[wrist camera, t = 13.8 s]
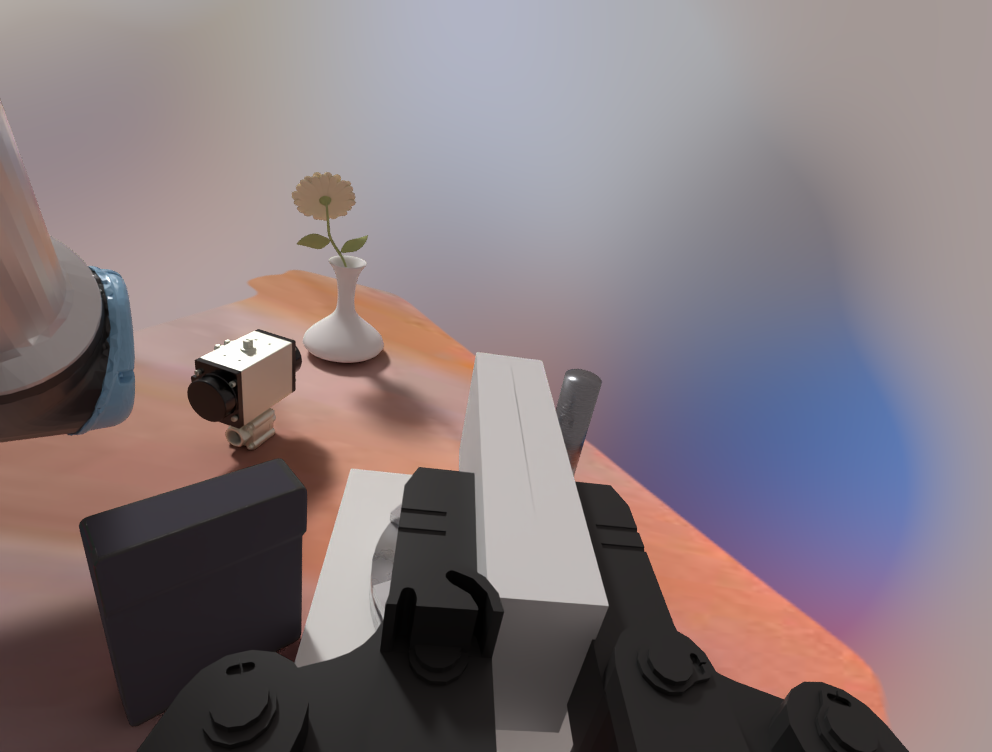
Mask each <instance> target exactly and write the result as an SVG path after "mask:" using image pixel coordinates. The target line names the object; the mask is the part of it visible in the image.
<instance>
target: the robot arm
mask: <svg viewBox="0 0 992 752" xmlns="http://www.w3.org/2000/svg"><path fill="white" fill-rule="evenodd" d="M134 360H135V354H134V338H133V326H132V317H131V310H130V302H129V296H128V291H127V287H126V285H125V283H124V280H123V279H122V277H121V275H120V274H118V273H117V272H115V271H113V270H108V269H100V268H98V267H94V266H87V265H86V263H85V262H84V261H83V260H82V259H81V258H80V257H79V256H78V255H77V254H76V253H75V252H74V251H73V250H71V249H70V248H69V247H67V246H66V245H65V244H63V243H62V242H60V241H58V240H57V239H55V238H53V237H52V236H50V235H49V233H48V231H47V228H46V225H45V222H44V219H43V217H42V214H41V211H40V208H39V205H38V203H37V200H36V197H35V194H34V191H33V189H32V186H31V183H30V180H29V177H28V175H27V172H26V169H25V166H24V164H23V161H22V158H21V156H20V152H19V150H18V147H17V144H16V141H15V139H14V136H13V133H12V130H11V127H10V125H9V122H8V119H7V117H6V113H5V111H4V108H3V105H2V102H1V100H0V442H8V441H15V440H23V439H31V438H38V437H46V436H54V435H61V434H68V435H71V436H72V435H80V434H84V433H86V432H88V431H89V430H95V429H101V428H106V427H111V426H115V425H118V424H120V423H122V422H123V421H124V420H126V419H127V418H128V416H129V415H130V413H131V411H132V409H133V404H134V397H135V376H134V372H133V369H134ZM567 711H568V716H569V722H570V728H571V735H572V741H573V746H572V749H571V751H570V752H909V751H908V750H907V749H906V748H905V746H904V745H902V743H901V742H900V741H899V739H898V738H897V737H896V736H895V735H894V733H893V732H892V731H891V730H890V729H889V728H888V726H887V725H886V724H885V723H884V722H883V721H882V720H881V719H880V718H879V717H878V716H877V715H876V714H875V713H874V712H873V711H872V710H871V709H870V708H868V707H867V706H866V705H865V704H864V703H862V702H861V701H859V700H858V699H856V698H855V697H853V696H852V695H850V694H849V693H847V692H846V691H844V690H842V689H839V688H836V687H834V686H831V685H828V684H826V683H823V682H803V683H801V684H799V685H798V686H796V687H794V688H793V689H791V691H790V692H789V693H788V695H787V696H786V698H785V699H781V698H779V697H776V696H773V695H771V694H768V693H765V692H763V691H760V690H757V689H755V688H752V687H749V686H747V685H744V684H741V683H739V682H736V681H734V680H731V679H729V678H727V677H725V676H723V675H721V674H719V673H717V672H716V671H715V669H714V667H713V666H712V664H711V662H710V661H709V659H708V657H707V656H706V654H705V653H704V652H703V651H702V650H701V649H700V648H699V647H698V646H697V645H696V644H695V643H694V642H693V641H692V640H691V639H690V638H688V637H687V636H685V635H683V634H681V633H680V632H678V631H677V630H676V628H675V626H674V624H673V621H672V618H671V616H670V613H669V610H668V608H667V605H666V603H665V600H664V597H663V595H662V592H661V589H660V587H659V584H658V582H657V579H656V576H655V574H654V571H653V568H652V566H651V563H650V561H649V558H648V555H647V553H646V552H644V545H643V542H642V540H641V537H640V534H639V533H637V526H636V524H635V521H634V519H633V516H632V513H631V511H630V508H629V506H628V504H627V503H626V502H625V501H624V500H623V499H622V498H621V497H620V495H619V494H618V493H617V492H616V491H615V490H614V489H613V488H612V486H611V485H602V484H593V483H583V482H575V480H574V476H573V473H572V469H571V465H570V462H569V458H568V454H567V451H566V447H565V443H564V439H563V436H562V432H561V428H560V425H559V421H558V417H557V414H556V410H555V406H554V403H553V399H552V396H551V392H550V388H549V385H548V381H547V377H546V373H545V370H544V366H543V362H542V361H541V360H532V359H526V358H518V357H510V356H502V355H495V354H488V353H481V352H476V358H475V364H474V369H473V375H472V381H471V387H470V392H469V398H468V404H467V409H466V415H465V421H464V427H463V432H462V438H461V444H460V450H459V471H451V470H442V469H432V468H423V467H419V468H418V469H417V470H416V471H415V473H414V474H413V475H412V476H411V478H410V479H409V480H408V481H407V483H406V484H405V485H404V492H403V499H402V506H401V513H400V520H399V527H398V534H397V541H396V548H395V555H394V562H393V569H392V576H391V583H390V590H389V596H388V598H387V601H386V603H385V612H384V619H383V621H382V622H381V624H380V625H379V627H378V629H377V630H376V632H375V633H374V634H373V635H372V636H371V637H370V638H369V639H368V640H367V641H366V642H365V643H364V644H362V645H361V646H359V647H357V648H356V649H354V650H353V651H351V652H349V653H347V654H344V655H342V656H339V657H336V658H333V659H330V660H326V661H322V662H318V663H314V664H310V665H306V666H302V667H297V666H296V665H295V663H294V662H292V661H291V660H289V659H287V658H285V657H283V656H281V655H280V654H278V653H276V652H269V651H259V650H249V651H244V652H240V653H236V654H231V655H227V656H225V657H223V658H221V659H219V660H218V661H216V662H214V663H212V664H211V665H209V666H207V667H205V668H204V669H202V670H201V671H200V672H199V673H198V674H197V675H196V676H195V677H194V678H193V679H192V680H191V681H190V682H189V683H188V684H187V685H186V686H185V687H184V688H183V689H182V690H181V691H180V693H179V694H178V695H177V697H176V698H175V699H174V701H173V702H172V704H171V705H170V706H169V708H168V709H167V710H166V712H165V713H164V715H163V716H162V717H161V719H160V720H159V721H158V723H157V724H156V726H155V727H154V728H153V730H152V731H151V732H150V734H149V735H148V737H147V738H146V739H145V741H144V742H143V743H142V745H141V746H140V748H139V749H138V750H137V752H497V747H496V730H510V731H532V732H554V733H559V731H560V728H561V726H562V723H563V721H564V718H565V716H566V713H567Z"/></svg>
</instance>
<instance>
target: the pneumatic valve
mask: <svg viewBox="0 0 992 752" xmlns="http://www.w3.org/2000/svg"><path fill="white" fill-rule="evenodd" d="M301 364H302V358H301V354H300V352H299V350H298V348H297V347H296V346H295V341H294V340H291V339H288V338H285V337H282V336H279V335H275V334H272V333H269V332H266V331H263V330H260V329H258V330H256V331H253V332H251V333H249V334H247V335H245V336H243V337H241V338H239V339H237V340H235V341H230V340H226V341H225V342H224V346H221V345H220V344H217V345H216V346H215V347H214V351H213V352H210V353H208V354H206V355H204V356H202V357H200V358H198V359H196V360H195V369H196V370H195V371H194V373H195V375H193V376H191V381H192V383H191V384H190V385H189V387H188V392H187V393H188V399H189V402H190V404H191V406H192V408H193V409H194V410H195V412H196V413H197V414H198V415H199V416H201V417H202V418H204V419H206V420H208V421H211V422H218V421H219V422H221V423H224V424H227V425H229V428H228V429H227V430H226V432H225V435H226V438H227V441H228V442H230V443H231V444H232V445H234V446H237V447H241V446H243V445H245V446H247V449H249V450H251V449H252V450H254V449H256V448H257V447H258V446H260V445H261V444H262V443H264V442H265V441H266V440H268V439H269V438H270V437H271V436H273V435H274V434H275V429H274V428H273V422H274V421H275V419H276V416H275V412H274V410H273V409H271V408H270V407H272V406H273V405H275V404H276V403H278V402H279V401H281V400H282V399H284V398H285V397H286V396H288V395H289V394H291V393H292V392H294V391H295V381H296V379H295V372H297V371H298V370H299V369H300V367H301Z"/></svg>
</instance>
